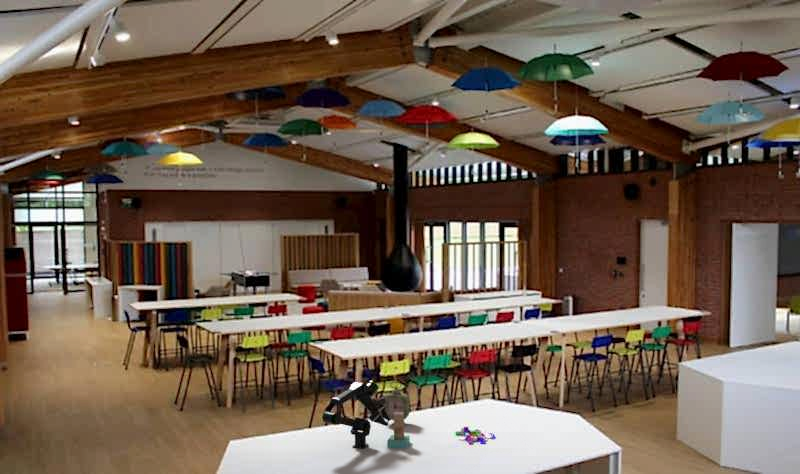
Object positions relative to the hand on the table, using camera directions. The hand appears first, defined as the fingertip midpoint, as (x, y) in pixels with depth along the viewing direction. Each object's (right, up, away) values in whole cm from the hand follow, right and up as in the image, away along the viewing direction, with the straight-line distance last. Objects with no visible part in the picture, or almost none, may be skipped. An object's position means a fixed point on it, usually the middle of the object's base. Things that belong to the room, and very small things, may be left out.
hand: (388, 422), depth 357 cm
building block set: (+47, -12, +12) cm, 50 cm away
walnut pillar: (+6, -8, 0) cm, 10 cm away
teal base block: (+5, -12, 0) cm, 13 cm away
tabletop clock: (+4, -12, +39) cm, 41 cm away
